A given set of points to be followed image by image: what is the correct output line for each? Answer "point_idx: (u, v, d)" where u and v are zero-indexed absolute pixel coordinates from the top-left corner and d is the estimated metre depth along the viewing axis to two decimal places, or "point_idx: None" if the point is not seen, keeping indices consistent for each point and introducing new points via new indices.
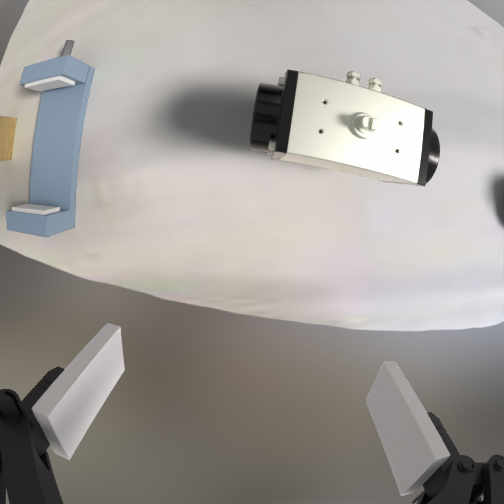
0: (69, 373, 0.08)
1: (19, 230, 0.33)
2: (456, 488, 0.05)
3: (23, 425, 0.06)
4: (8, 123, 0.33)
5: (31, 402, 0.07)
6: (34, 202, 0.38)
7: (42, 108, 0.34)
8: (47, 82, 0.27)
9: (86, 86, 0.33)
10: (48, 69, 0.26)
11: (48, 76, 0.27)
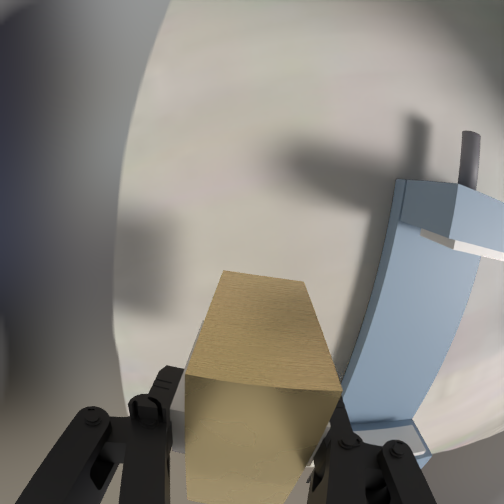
0: None
1: None
2: (343, 469, 0.07)
3: (160, 432, 0.07)
4: None
5: None
6: None
7: (397, 266, 0.20)
8: (501, 260, 0.14)
9: None
10: None
11: None
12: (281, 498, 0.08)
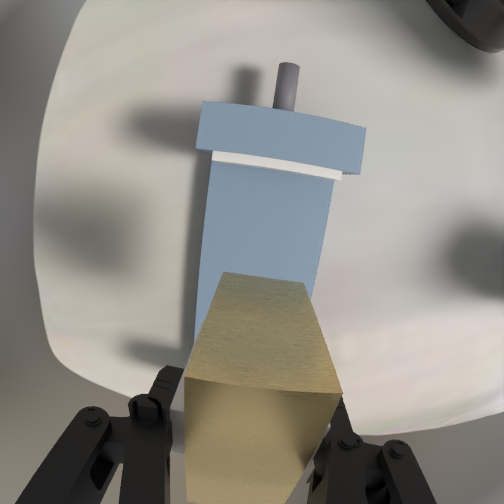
0: None
1: None
2: (343, 469, 0.07)
3: (160, 432, 0.07)
4: None
5: None
6: None
7: (217, 197, 0.23)
8: (298, 172, 0.17)
9: None
10: (308, 142, 0.16)
11: (312, 164, 0.16)
12: (281, 499, 0.08)
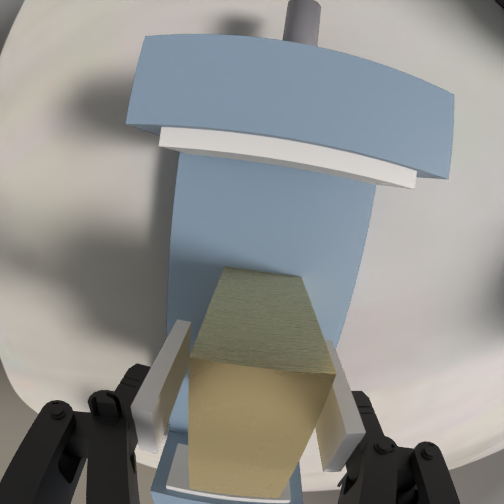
0: (158, 368, 0.10)
1: None
2: (377, 472, 0.06)
3: (120, 428, 0.07)
4: None
5: None
6: (187, 429, 0.18)
7: (189, 211, 0.14)
8: (335, 170, 0.08)
9: None
10: (357, 108, 0.07)
11: (367, 153, 0.07)
12: (280, 485, 0.09)
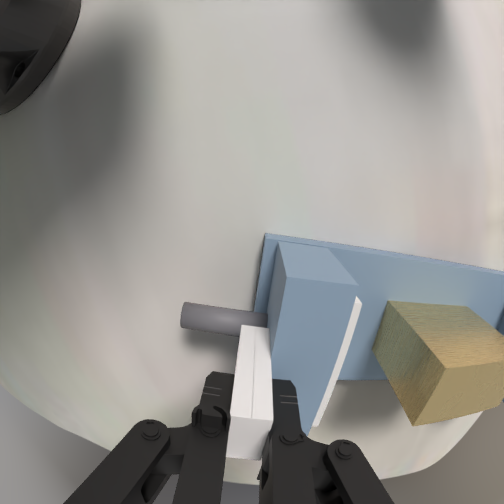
0: (242, 374, 0.11)
1: None
2: (287, 466, 0.07)
3: (221, 442, 0.07)
4: (416, 315, 0.16)
5: None
6: None
7: None
8: (345, 352, 0.13)
9: (320, 245, 0.18)
10: (310, 354, 0.12)
11: (340, 347, 0.12)
12: None
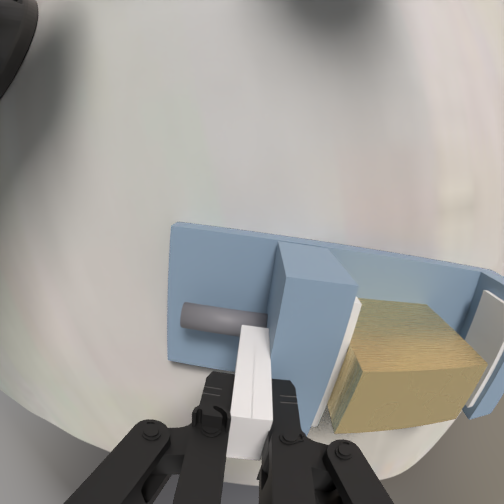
0: (243, 374, 0.11)
1: None
2: (287, 466, 0.07)
3: (221, 442, 0.07)
4: None
5: None
6: None
7: None
8: (344, 352, 0.13)
9: (227, 232, 0.18)
10: (310, 354, 0.12)
11: (339, 347, 0.12)
12: (471, 369, 0.10)
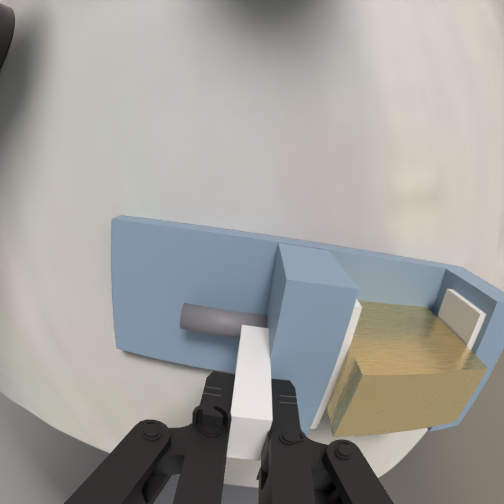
0: (243, 374, 0.11)
1: (479, 389, 0.13)
2: (287, 466, 0.07)
3: (222, 442, 0.07)
4: None
5: None
6: None
7: (195, 357, 0.20)
8: (344, 355, 0.13)
9: (161, 224, 0.17)
10: (309, 357, 0.12)
11: (339, 350, 0.12)
12: (471, 373, 0.10)
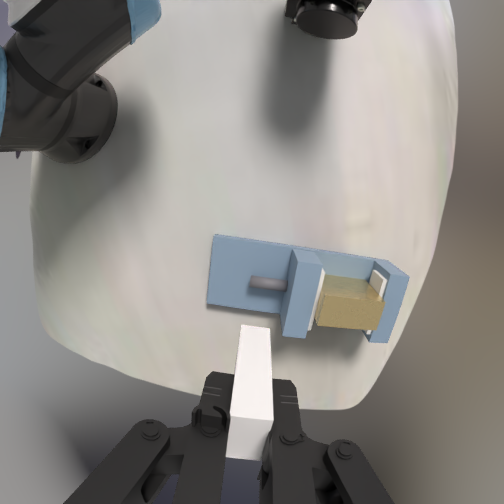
0: (242, 374, 0.11)
1: (394, 320, 0.35)
2: (288, 466, 0.07)
3: (221, 442, 0.07)
4: (324, 279, 0.38)
5: None
6: None
7: (250, 304, 0.42)
8: (320, 292, 0.35)
9: (238, 239, 0.40)
10: (306, 291, 0.34)
11: (317, 288, 0.34)
12: (375, 302, 0.32)
